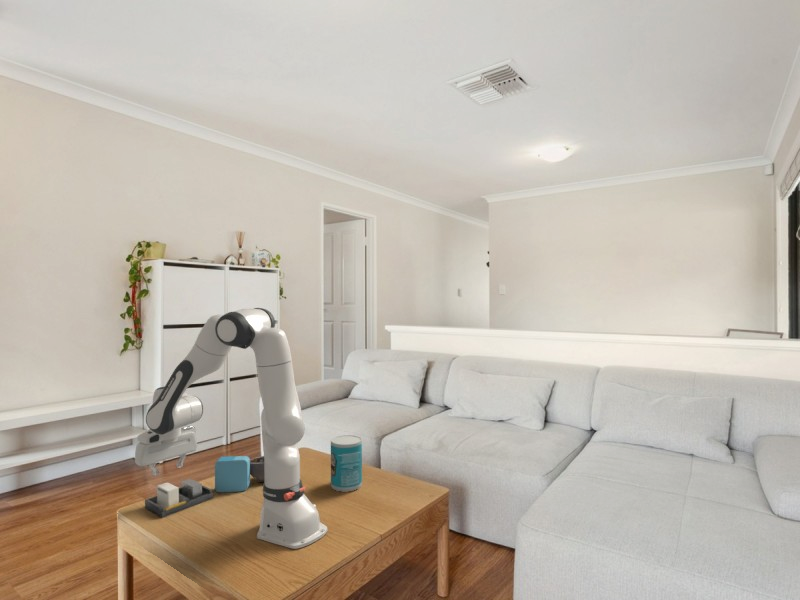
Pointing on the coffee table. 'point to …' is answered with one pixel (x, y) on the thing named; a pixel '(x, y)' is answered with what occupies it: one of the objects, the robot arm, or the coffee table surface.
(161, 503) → the beige rectangular block
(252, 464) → the planter
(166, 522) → the coffee table surface
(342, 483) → the food can
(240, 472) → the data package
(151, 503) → the rack
